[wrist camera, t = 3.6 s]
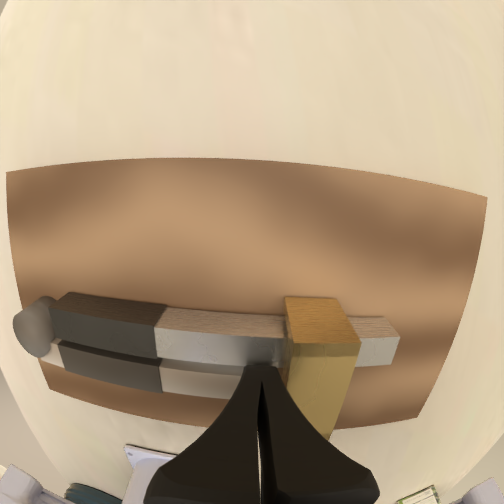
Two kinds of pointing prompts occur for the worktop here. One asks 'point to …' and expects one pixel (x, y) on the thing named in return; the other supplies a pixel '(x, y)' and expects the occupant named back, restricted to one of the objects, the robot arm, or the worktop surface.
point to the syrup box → (422, 497)
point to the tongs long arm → (197, 332)
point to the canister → (88, 495)
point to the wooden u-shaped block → (319, 358)
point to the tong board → (240, 269)
